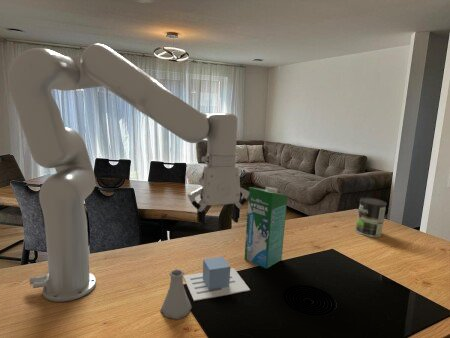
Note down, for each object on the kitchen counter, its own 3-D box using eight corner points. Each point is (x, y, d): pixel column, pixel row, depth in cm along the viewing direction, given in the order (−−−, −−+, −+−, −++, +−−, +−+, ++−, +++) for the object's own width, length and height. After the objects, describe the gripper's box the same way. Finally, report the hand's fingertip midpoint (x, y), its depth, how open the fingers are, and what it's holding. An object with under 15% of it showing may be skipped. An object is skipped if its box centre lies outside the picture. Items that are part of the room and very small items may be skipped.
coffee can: (364, 237, 123) (368, 204, 120) (351, 227, 133) (355, 197, 130) (387, 237, 124) (392, 205, 122) (372, 227, 134) (377, 197, 132)
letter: (193, 301, 77) (193, 299, 77) (183, 276, 88) (183, 275, 88) (250, 290, 82) (250, 289, 82) (233, 268, 93) (233, 267, 93)
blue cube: (208, 290, 81) (209, 269, 80) (202, 278, 87) (203, 259, 86) (229, 286, 83) (230, 266, 82) (221, 275, 89) (222, 256, 88)
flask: (196, 307, 74) (198, 271, 72) (177, 324, 68) (178, 284, 66) (175, 297, 78) (175, 262, 76) (154, 312, 72) (154, 274, 70)
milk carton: (281, 259, 101) (288, 188, 96) (266, 269, 94) (272, 192, 89) (260, 250, 107) (265, 182, 102) (244, 258, 100) (248, 186, 95)
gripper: (192, 164, 72) (191, 231, 75) (257, 162, 78) (252, 224, 81) (185, 159, 79) (184, 220, 82) (245, 158, 85) (241, 215, 88)
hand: (218, 222), depth 82 cm, fingers open, 9 cm apart
